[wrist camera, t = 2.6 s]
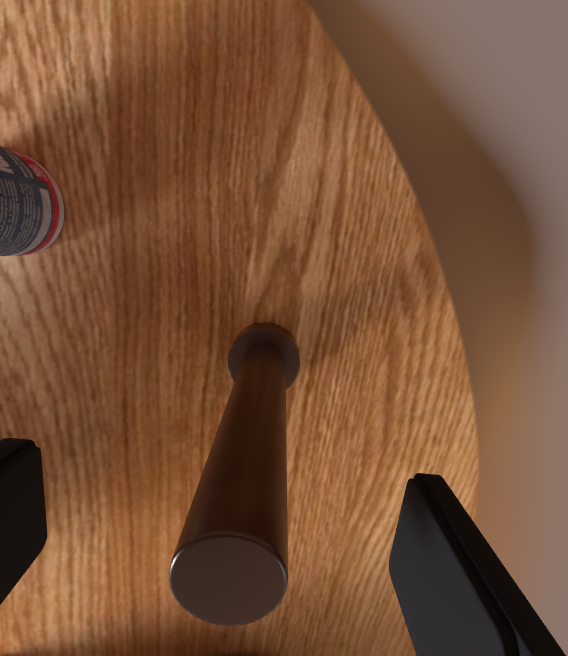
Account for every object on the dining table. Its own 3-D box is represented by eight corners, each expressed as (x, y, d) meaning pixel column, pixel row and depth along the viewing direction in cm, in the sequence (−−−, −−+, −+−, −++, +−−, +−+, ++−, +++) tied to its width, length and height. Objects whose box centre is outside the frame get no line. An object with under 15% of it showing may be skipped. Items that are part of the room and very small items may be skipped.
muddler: (302, 326, 20) (342, 508, 6) (294, 389, 21) (314, 663, 7) (234, 318, 20) (126, 487, 6) (229, 382, 21) (127, 648, 7)
